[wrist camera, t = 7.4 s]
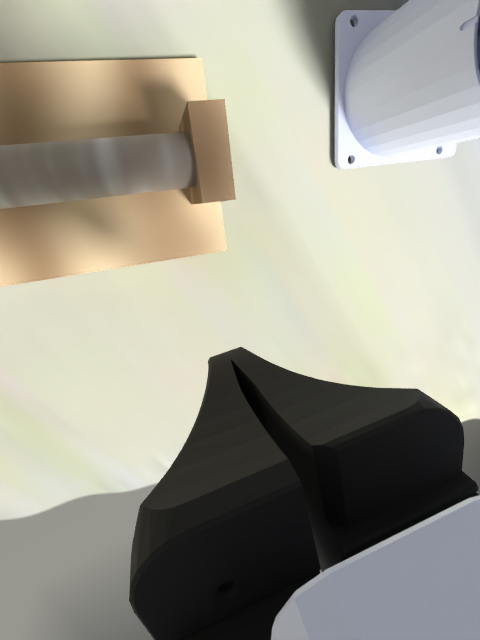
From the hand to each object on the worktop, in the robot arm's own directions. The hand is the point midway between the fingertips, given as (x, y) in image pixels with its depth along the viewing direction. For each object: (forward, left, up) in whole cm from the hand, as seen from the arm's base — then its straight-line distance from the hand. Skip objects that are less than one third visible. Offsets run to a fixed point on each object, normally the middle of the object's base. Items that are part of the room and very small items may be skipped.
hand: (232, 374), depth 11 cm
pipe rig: (+8, -8, -10) cm, 15 cm away
